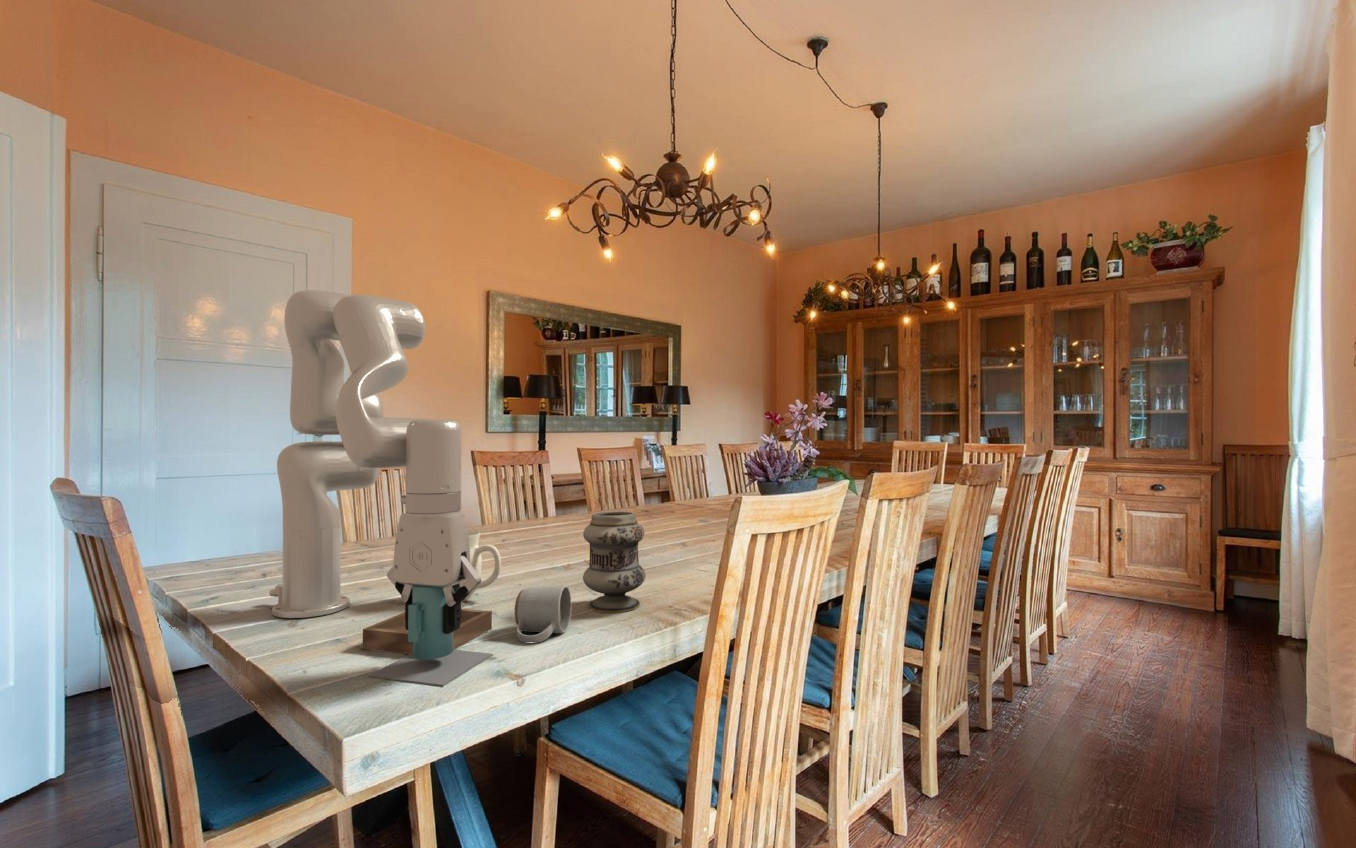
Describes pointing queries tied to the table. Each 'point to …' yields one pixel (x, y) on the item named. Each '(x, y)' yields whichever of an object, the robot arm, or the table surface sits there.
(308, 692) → the table surface
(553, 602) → the ceramic mug
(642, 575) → the apothecary jar
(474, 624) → the wooden tray
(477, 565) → the pitcher
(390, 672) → the slate mat
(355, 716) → the table surface
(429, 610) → the teal jug
